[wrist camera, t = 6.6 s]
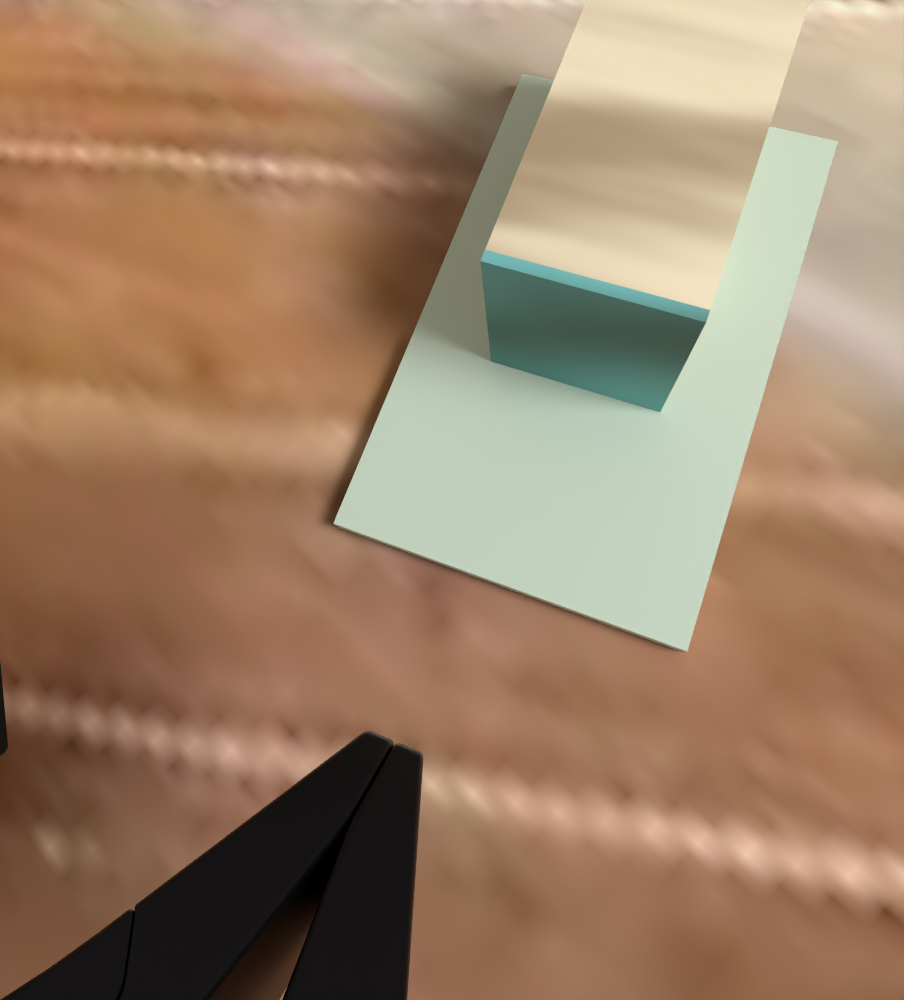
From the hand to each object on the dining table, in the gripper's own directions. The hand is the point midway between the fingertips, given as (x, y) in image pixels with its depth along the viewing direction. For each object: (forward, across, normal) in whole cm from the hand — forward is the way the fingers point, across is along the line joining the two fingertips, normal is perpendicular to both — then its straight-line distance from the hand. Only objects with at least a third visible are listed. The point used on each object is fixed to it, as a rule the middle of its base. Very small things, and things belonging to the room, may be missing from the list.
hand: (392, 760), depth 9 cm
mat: (+15, 0, -2) cm, 15 cm away
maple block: (+11, 0, -3) cm, 11 cm away
